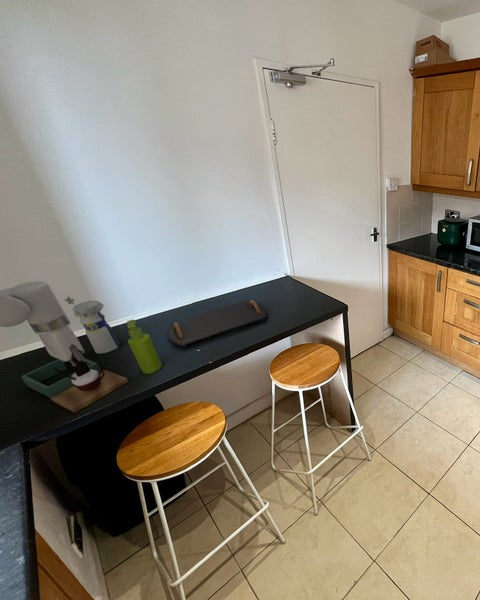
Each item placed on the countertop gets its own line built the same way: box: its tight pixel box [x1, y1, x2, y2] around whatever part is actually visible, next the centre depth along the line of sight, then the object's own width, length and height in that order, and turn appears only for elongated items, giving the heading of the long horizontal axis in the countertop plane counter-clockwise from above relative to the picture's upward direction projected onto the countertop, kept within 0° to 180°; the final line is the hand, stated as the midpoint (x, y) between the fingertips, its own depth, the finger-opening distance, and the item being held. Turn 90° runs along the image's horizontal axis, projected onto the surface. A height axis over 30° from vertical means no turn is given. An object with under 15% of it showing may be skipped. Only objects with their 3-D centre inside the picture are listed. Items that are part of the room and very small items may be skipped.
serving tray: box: [167, 300, 267, 349], centre depth 138 cm, size 39×23×6 cm, turn 131°
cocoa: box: [52, 367, 105, 391], centre depth 100 cm, size 10×6×12 cm, turn 133°
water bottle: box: [64, 296, 121, 354], centre depth 119 cm, size 8×9×25 cm
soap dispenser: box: [126, 319, 163, 375], centre depth 109 cm, size 6×7×20 cm
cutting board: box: [50, 369, 129, 414], centre depth 103 cm, size 15×12×2 cm
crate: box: [20, 358, 102, 399], centre depth 107 cm, size 14×16×4 cm
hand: (80, 371), depth 99 cm, fingers open, 3 cm apart
